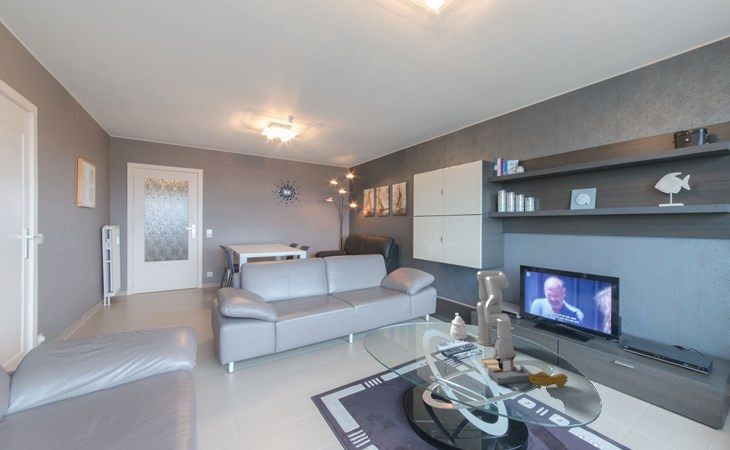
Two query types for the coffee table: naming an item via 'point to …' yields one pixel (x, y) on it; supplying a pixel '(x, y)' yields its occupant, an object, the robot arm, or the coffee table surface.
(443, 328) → the coffee table surface
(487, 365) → the board
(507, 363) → the cream block
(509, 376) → the box
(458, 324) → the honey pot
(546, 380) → the decorative fish
